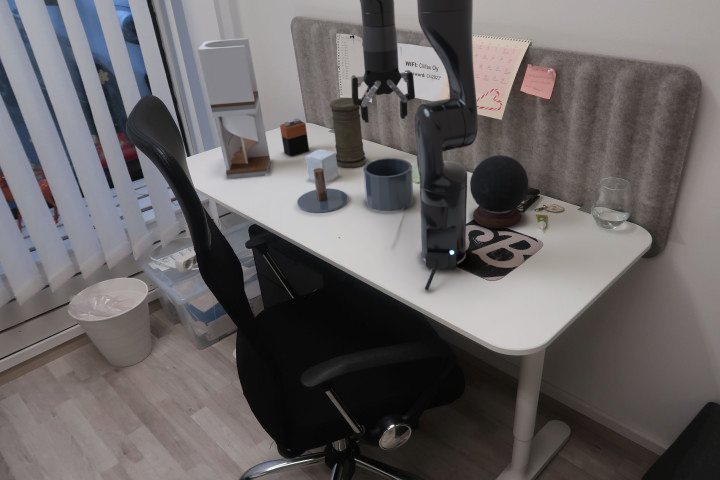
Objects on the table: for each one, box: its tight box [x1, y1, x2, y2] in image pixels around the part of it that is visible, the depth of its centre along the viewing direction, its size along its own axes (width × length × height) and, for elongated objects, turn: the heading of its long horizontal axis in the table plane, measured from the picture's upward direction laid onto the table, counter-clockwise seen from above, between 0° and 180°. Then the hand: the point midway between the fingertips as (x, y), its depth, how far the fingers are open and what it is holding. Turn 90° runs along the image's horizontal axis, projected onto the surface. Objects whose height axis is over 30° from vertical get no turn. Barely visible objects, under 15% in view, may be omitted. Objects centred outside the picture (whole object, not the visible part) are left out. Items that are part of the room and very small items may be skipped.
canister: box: [362, 157, 414, 212], centre depth 138 cm, size 12×12×10 cm
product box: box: [305, 148, 339, 183], centre depth 153 cm, size 6×6×7 cm
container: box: [329, 97, 367, 169], centre depth 159 cm, size 9×9×18 cm
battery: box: [279, 118, 310, 157], centre depth 170 cm, size 4×7×10 cm, turn 129°
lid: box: [296, 168, 349, 214], centre depth 139 cm, size 13×13×9 cm
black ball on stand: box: [469, 154, 529, 230], centre depth 128 cm, size 13×13×15 cm
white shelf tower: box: [197, 37, 271, 180], centre depth 153 cm, size 11×11×35 cm
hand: (384, 119), depth 129 cm, fingers open, 8 cm apart
